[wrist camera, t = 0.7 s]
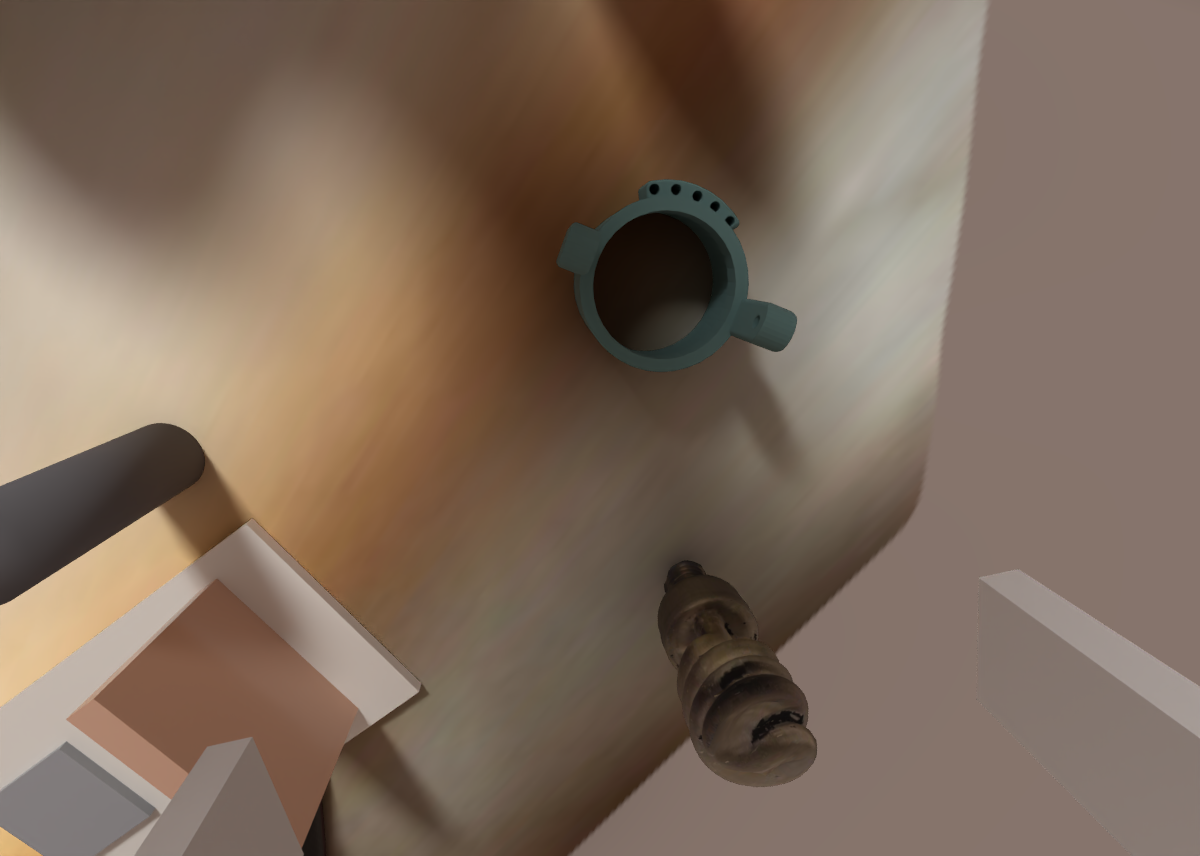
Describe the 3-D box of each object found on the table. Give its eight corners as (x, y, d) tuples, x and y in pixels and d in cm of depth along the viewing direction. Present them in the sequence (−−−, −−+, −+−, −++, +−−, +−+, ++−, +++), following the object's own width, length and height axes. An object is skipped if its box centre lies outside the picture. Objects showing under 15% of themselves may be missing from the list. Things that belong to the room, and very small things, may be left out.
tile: (194, 594, 35) (63, 721, 25) (216, 578, 35) (93, 698, 25) (337, 723, 38) (269, 878, 28) (358, 708, 38) (297, 859, 28)
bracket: (740, 326, 35) (808, 345, 26) (592, 378, 35) (611, 414, 26) (699, 169, 32) (758, 133, 24) (540, 225, 32) (541, 208, 23)
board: (-66, 756, 37) (-89, 774, 35) (252, 518, 35) (240, 528, 33) (127, 889, 41) (113, 910, 40) (421, 683, 39) (417, 698, 37)
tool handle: (111, 451, 33) (-119, 552, 21) (165, 409, 33) (-39, 489, 21) (167, 503, 34) (-23, 626, 22) (220, 463, 34) (54, 567, 22)
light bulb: (738, 586, 39) (854, 773, 25) (668, 628, 40) (743, 837, 25) (697, 522, 38) (795, 682, 23) (624, 567, 38) (677, 752, 24)
